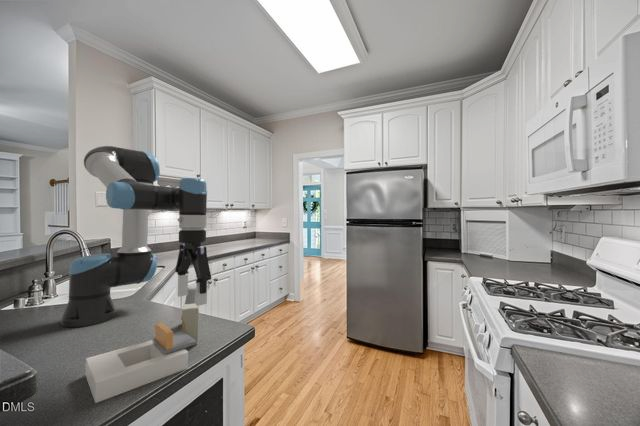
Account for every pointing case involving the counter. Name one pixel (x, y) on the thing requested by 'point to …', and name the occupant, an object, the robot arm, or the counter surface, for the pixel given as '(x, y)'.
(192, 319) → the box
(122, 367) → the socket
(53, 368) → the counter surface
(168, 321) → the counter surface
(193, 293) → the salt shaker
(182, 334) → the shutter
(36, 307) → the counter surface
